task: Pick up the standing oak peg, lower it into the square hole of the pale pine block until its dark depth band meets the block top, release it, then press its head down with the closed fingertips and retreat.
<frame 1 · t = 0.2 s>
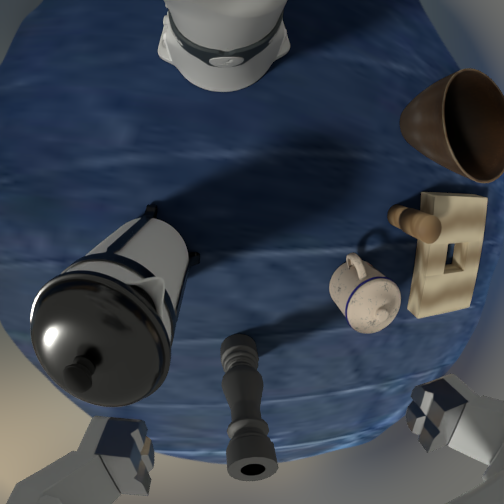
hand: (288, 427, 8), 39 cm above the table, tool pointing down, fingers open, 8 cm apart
candle holder: (238, 348, 52), on the table
plant pot: (416, 127, 43), on the table
block: (443, 251, 51), on the table
coffee press: (147, 259, 46), on the table
teacup with lid: (349, 275, 50), on the table
peg: (396, 215, 47), on the table
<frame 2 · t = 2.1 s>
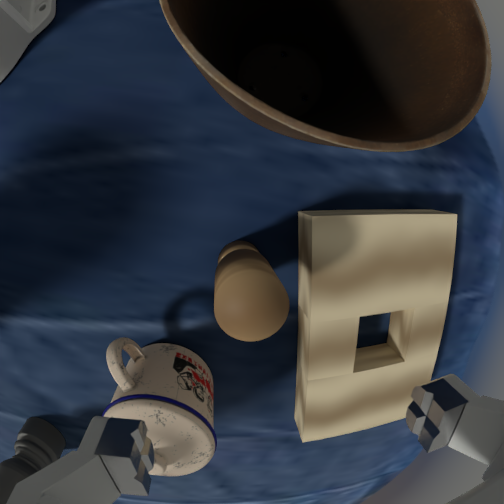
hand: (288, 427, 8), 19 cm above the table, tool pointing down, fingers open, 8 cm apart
candle holder: (46, 433, 29), on the table
plant pot: (280, 83, 23), on the table
block: (366, 322, 29), on the table
teacup with lid: (162, 366, 28), on the table
peg: (239, 261, 26), on the table
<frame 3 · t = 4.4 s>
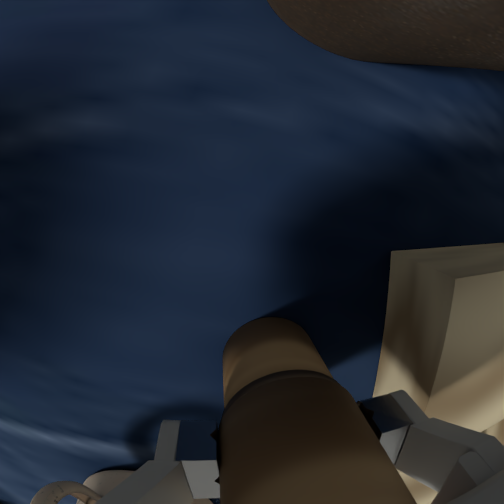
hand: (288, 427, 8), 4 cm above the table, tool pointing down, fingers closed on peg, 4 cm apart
block: (456, 415, 14), on the table
teacup with lid: (136, 491, 13), on the table
peg: (268, 358, 12), on the table, touching gripper
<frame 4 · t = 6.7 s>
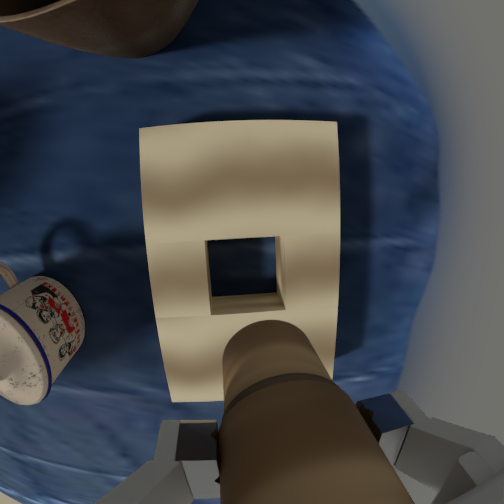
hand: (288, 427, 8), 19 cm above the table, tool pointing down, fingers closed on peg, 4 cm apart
plant pot: (144, 27, 21), on the table
block: (242, 263, 26), on the table
teacup with lid: (43, 303, 25), on the table
peg: (268, 360, 12), point 15 cm above the table, touching gripper
when the fingers open (5 cm above the table, at t = 9.4 s): peg stays where it is, resting in block.
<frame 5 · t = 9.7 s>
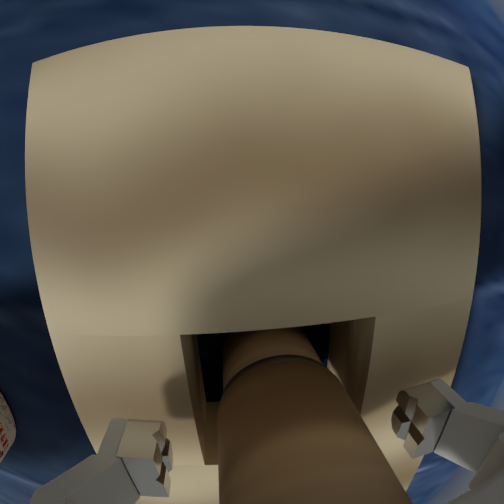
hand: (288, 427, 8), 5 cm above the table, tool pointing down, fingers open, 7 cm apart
block: (265, 346, 13), on the table
peg: (264, 348, 13), resting in block
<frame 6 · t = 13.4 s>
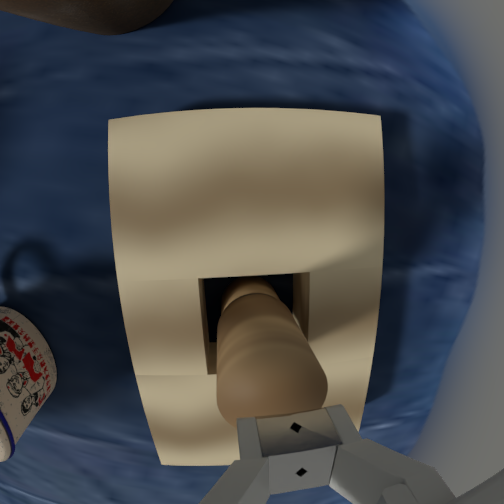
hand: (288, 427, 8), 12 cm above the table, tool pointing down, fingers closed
block: (249, 301, 20), on the table
teacup with lid: (9, 337, 19), on the table
peg: (249, 302, 20), resting in block
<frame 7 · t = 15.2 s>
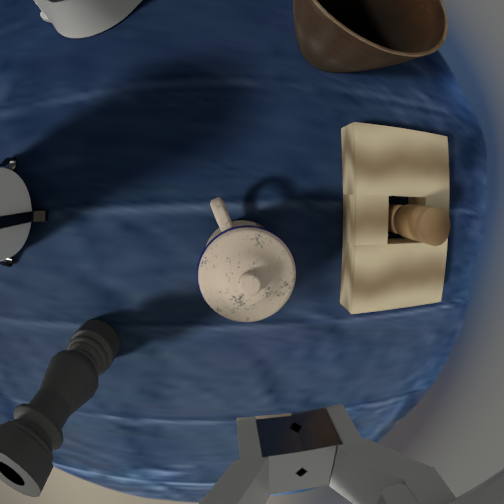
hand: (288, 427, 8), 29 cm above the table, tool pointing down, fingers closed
candle holder: (99, 339, 37), on the table
plant pot: (326, 50, 33), on the table
block: (391, 217, 38), on the table
coffee press: (7, 220, 33), on the table
teacup with lid: (236, 245, 37), on the table
peg: (390, 217, 38), resting in block
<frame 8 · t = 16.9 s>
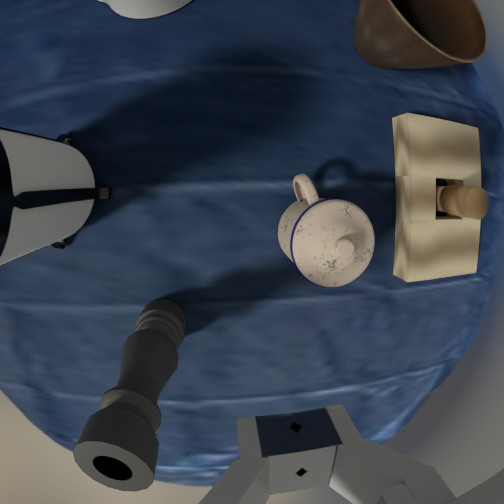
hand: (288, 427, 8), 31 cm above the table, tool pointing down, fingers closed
candle holder: (163, 320, 40), on the table
plant pot: (376, 47, 35), on the table
block: (433, 197, 40), on the table
coffee press: (59, 199, 35), on the table
teacup with lid: (306, 220, 39), on the table
peg: (433, 197, 40), resting in block
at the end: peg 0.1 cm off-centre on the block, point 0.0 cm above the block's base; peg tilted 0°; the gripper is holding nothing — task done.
